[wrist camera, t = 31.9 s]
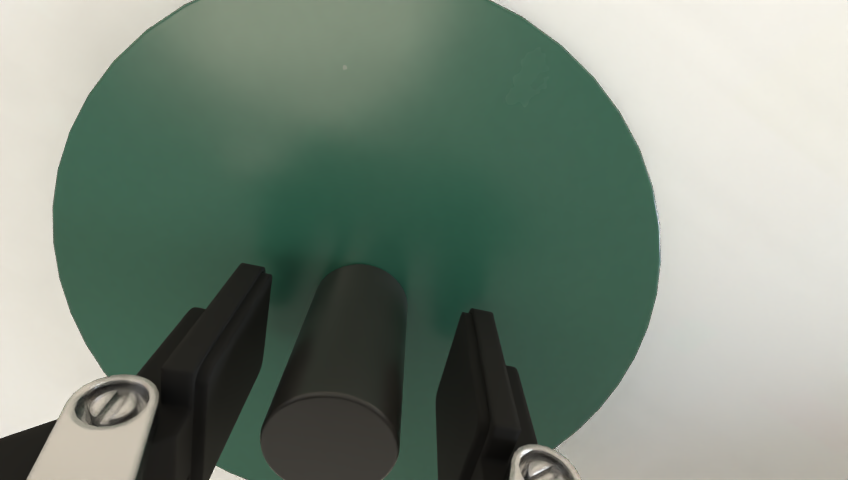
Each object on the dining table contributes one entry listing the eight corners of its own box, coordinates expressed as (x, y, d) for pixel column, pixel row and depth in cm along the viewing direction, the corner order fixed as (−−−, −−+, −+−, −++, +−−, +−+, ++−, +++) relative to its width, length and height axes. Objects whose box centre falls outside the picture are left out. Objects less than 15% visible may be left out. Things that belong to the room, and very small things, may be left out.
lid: (-18, -16, 11) (-474, -59, 5) (695, -43, 11) (988, -115, 5) (165, 480, 18) (47, 689, 12) (605, 469, 18) (690, 677, 12)
